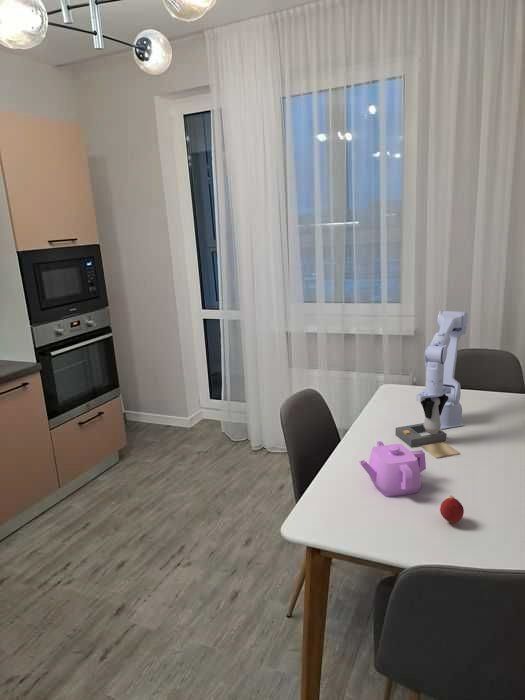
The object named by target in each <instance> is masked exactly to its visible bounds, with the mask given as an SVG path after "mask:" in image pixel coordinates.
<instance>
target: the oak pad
mask: <svg viewBox="0 0 525 700" xmlns="http://www.w3.org/2000/svg"><path fill="white" fill-rule="evenodd" d="M421 448H422V449H423V450H424V451H426V452H427V453H428V454H429V455H431V456H433V458H435V459H442V458H447V457H454V456H458V455H461V452H460V451H458V450H456V449H455V448H453V447H452V446H450V445H449V444H448V443H446V442H440V443H434V444H429V445H423V446H421Z"/></svg>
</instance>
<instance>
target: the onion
mask: <svg viewBox="0 0 525 700" xmlns="http://www.w3.org/2000/svg"><path fill="white" fill-rule="evenodd" d="M464 511H465V510H464V506H463V504H462V503H461V502H460V501H459V499H457V498H455V497H454V496H453V495H452V494H451V495H449V497H447V498H446V499H444V500H443V501H442V502H441V504H440V507H439V512H440V514H441V517H443V519H445V521H447V522H448V523H450V524H454V523H458V522H459V521H460V520H462V519H463V517H464V513H465V512H464Z"/></svg>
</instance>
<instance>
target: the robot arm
mask: <svg viewBox="0 0 525 700" xmlns="http://www.w3.org/2000/svg"><path fill="white" fill-rule="evenodd" d="M468 319H469V317H468V313H467V312H466V311H455V310H454V311H453V310H451V311H450V310H443V309H441V310H439V312H438V315H437V321H436V322H437V326H438V328H439V330H438V332H436V333H435V334H434V335H433V337H432V340H431V342H430V344H429V345H427V346H426V347H425V349H424V357H423V358H424V366H425V370H426V371H425V388H423V391H422V392H421V393H418V394H416V396H415V397H416V399H415V400H416V401H417V402H420V405H421V406H422V409H423V413H424V416H425V417H426V418H429V419H431V417H432V409H433V406H434V403H435V402H434V401H431V398H433V397H438V398H439V399H440V404H439V405H438V408H439V415H440V423H441V428H440V430H447V429H450V428H457V427H463V425H464V424H463V423H462V421H463V407H462V404H461V403H460V400H461V388H462V387H461V383H460V382H459V381H457V380H456V379H455V373H456V372H455V371H456V365H457V364H456V363H457V357H458V349H459V343H460V338H461V336H463V335H465V334H466V332H467V327H468V326H467V325H468ZM425 417H424V418H425Z"/></svg>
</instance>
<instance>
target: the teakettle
mask: <svg viewBox="0 0 525 700" xmlns="http://www.w3.org/2000/svg"><path fill="white" fill-rule="evenodd" d="M359 464H360V465H361V467H363V470H365V472H366V473H367V474H368V476H369V477H370V480H371V482H372V484H373V485H374V487H375V488H376V489H377V491H378V492H380V494H381V495H382V496H384V497H385V498H391V497H398V496H406V495H412V494H417V493H419V492H420V488H421V486H422V485H421V484H422V483H421V481H422V480H421V479H422V478H421V473H423V471H425V470H427V463H426V453H425V452H424V451H423V450H422V449H420V450H410V449H409V448H408V447H406V446H405V445H403V444H402V443H392V444H384V442H383V441H382V440H378V441H376V446H373V447H372V448H371V452H370V456H369V460H368V462H367V460H366V459H363V460H360V461H359Z"/></svg>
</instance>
